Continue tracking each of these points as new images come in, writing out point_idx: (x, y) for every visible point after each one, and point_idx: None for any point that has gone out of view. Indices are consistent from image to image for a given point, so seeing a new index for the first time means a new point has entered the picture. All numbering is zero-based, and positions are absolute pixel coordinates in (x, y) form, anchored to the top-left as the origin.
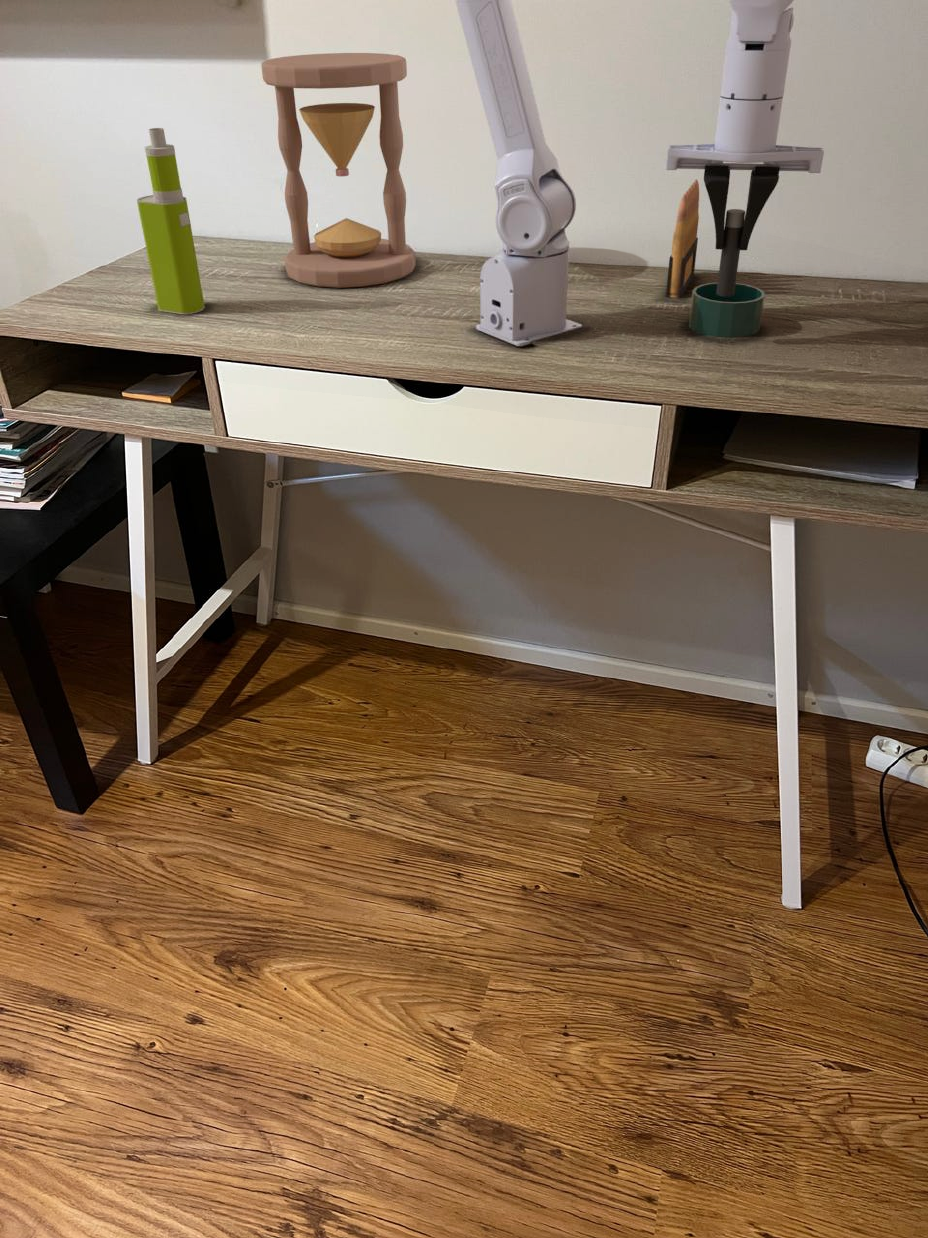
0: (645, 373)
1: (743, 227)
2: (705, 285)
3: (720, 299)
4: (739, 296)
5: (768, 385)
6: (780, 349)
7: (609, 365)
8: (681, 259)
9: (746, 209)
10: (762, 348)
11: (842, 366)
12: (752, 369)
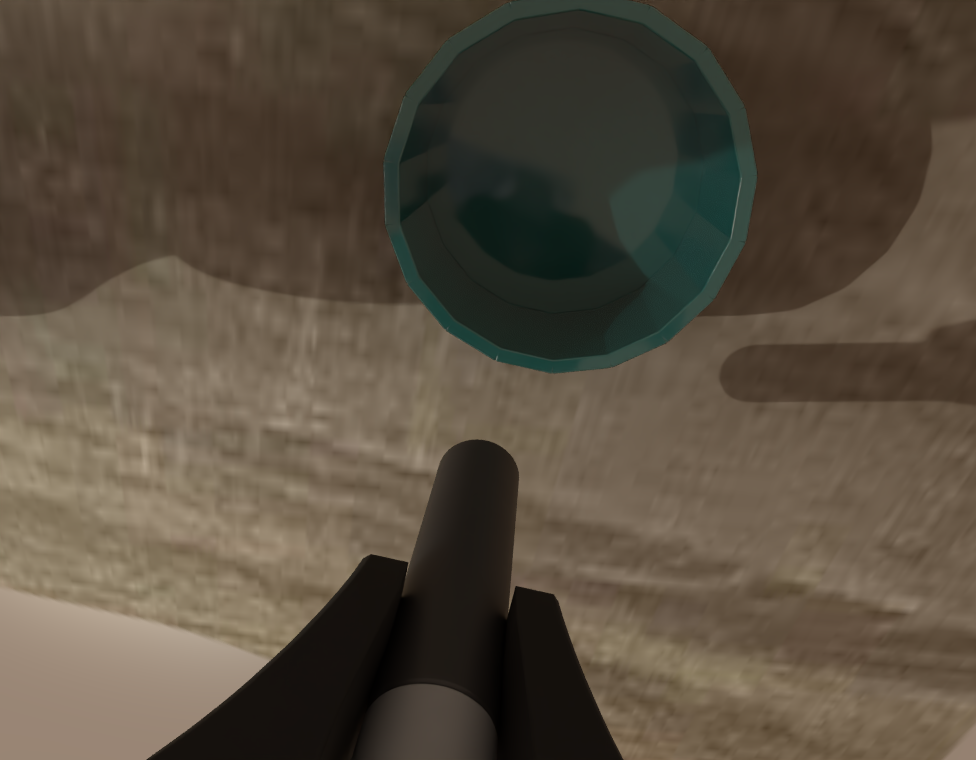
0: (246, 562)
1: (499, 741)
2: (469, 49)
3: (572, 20)
4: (664, 53)
5: None
6: (716, 404)
7: (139, 499)
8: None
9: (529, 756)
10: (655, 390)
11: (856, 559)
12: (564, 559)
